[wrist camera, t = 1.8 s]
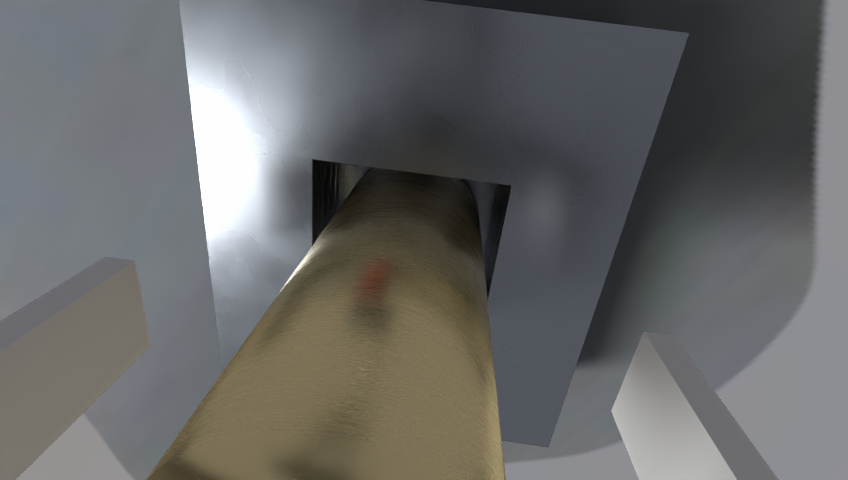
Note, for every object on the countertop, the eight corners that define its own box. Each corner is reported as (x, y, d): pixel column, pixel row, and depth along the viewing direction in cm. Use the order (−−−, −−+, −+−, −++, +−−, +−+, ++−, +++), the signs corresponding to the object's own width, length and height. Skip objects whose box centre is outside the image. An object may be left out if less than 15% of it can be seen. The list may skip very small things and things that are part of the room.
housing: (248, -14, 16) (175, -31, 12) (629, 34, 16) (689, 33, 12) (267, 335, 23) (225, 400, 19) (532, 373, 22) (548, 447, 18)
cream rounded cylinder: (347, 149, 17) (90, 406, 5) (490, 168, 17) (559, 474, 5) (343, 273, 19) (160, 640, 8) (468, 290, 19) (479, 691, 7)
